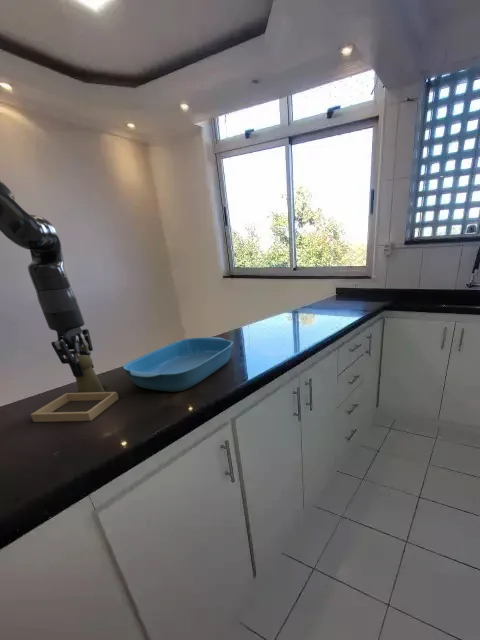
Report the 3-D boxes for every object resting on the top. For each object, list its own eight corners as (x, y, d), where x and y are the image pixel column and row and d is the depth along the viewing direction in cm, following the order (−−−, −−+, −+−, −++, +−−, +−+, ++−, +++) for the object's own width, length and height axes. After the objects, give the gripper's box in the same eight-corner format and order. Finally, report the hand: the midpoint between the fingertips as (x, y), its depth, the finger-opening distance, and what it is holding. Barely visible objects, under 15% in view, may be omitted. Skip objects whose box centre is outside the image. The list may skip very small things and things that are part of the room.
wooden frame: (35, 425, 71) (30, 414, 70) (69, 402, 82) (65, 392, 81) (92, 423, 71) (88, 413, 70) (119, 401, 81) (116, 391, 80)
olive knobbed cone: (102, 387, 90) (89, 351, 85) (106, 393, 86) (93, 356, 81) (78, 393, 87) (63, 356, 82) (81, 400, 83) (66, 361, 78)
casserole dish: (180, 402, 79) (174, 376, 76) (112, 394, 86) (104, 370, 82) (245, 357, 111) (242, 337, 107) (192, 353, 117) (188, 335, 114)
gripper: (60, 304, 82) (82, 365, 90) (25, 314, 69) (54, 384, 77) (90, 302, 83) (109, 362, 90) (61, 312, 70) (87, 381, 78)
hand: (84, 372), depth 84 cm, fingers closed on olive knobbed cone, 5 cm apart
